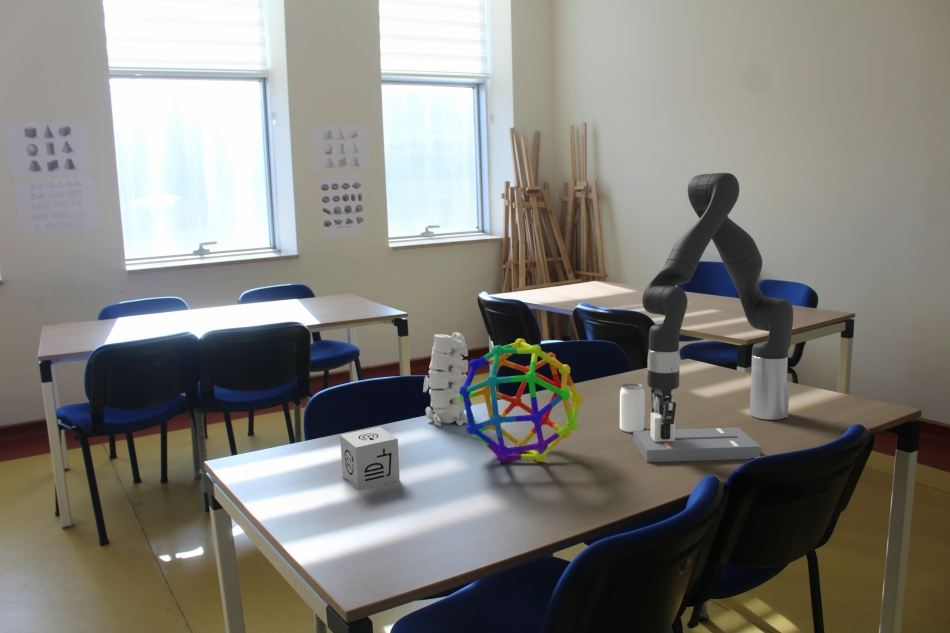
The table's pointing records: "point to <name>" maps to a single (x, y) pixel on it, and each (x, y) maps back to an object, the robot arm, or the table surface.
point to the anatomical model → (447, 379)
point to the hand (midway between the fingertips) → (662, 435)
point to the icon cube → (370, 458)
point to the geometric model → (536, 416)
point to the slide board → (698, 445)
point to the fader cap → (656, 429)
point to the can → (632, 407)
